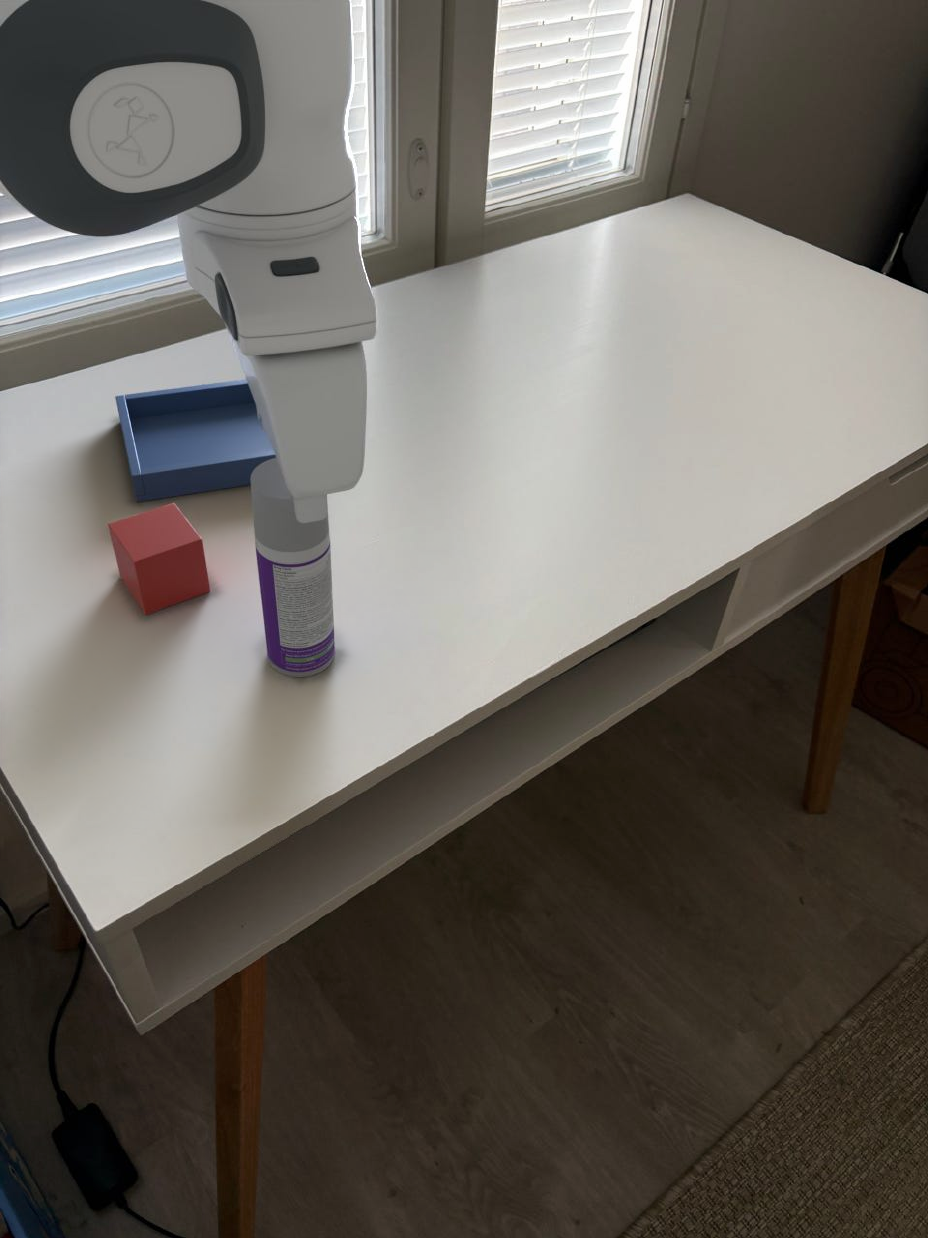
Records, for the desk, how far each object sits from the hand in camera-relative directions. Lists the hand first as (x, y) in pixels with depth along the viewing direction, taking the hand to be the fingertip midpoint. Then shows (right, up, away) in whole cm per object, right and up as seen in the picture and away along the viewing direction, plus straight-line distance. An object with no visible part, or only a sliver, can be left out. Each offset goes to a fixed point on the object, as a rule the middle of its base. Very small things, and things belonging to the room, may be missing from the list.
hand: (291, 467), depth 60 cm
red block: (-12, -6, +15) cm, 20 cm away
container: (-1, -12, +11) cm, 16 cm away
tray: (-11, +6, +28) cm, 31 cm away
